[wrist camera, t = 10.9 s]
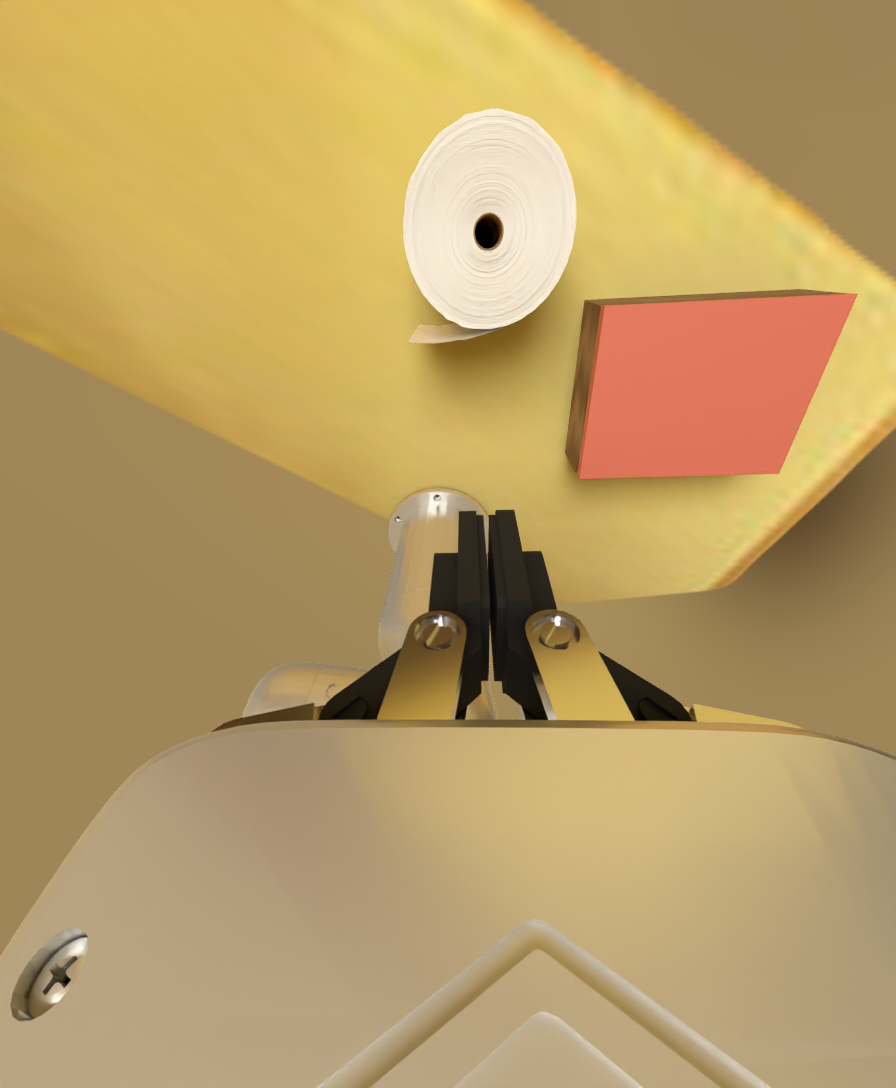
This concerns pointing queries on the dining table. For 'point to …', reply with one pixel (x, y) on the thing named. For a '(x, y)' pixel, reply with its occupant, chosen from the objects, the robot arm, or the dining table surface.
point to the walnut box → (589, 341)
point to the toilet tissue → (488, 223)
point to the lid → (705, 384)
